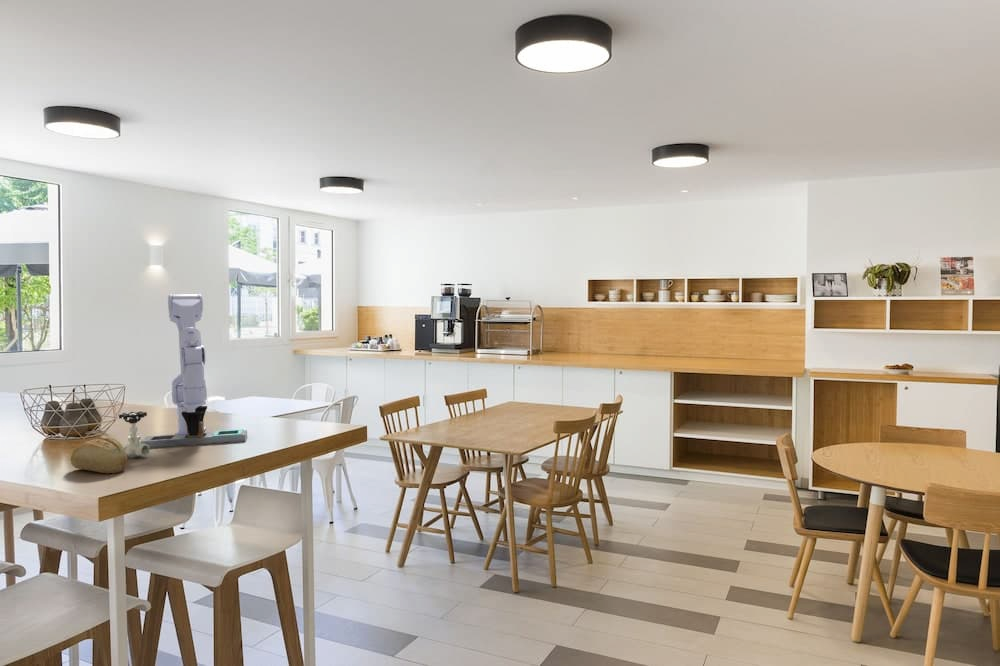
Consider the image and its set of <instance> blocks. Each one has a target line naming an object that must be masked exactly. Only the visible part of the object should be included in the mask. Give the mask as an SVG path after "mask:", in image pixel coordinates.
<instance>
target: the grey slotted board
mask: <svg viewBox="0 0 1000 666" xmlns="http://www.w3.org/2000/svg"><path fill="white" fill-rule="evenodd" d="M247 438H248V429H244V428H243V429H227V430H226V429H225V430H215V431H213V432H212V431H211V432H204V437H192V438H187V434H177V435H175V434H165V435H151V436H150V435H148V436H144V437H143V439H142V440H141V441H140V443H145V444H147V445H149V448H150V449H157V448H156V447H158V448H169V447H170V446H172V447H183V445H187V446H198V445H212V443H216V444H224V443H223V442H231V443H241V442H240V441H245V442H246V441H247ZM170 448H171V447H170Z"/></svg>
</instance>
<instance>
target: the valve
mask: <svg viewBox="0 0 1000 666" xmlns="http://www.w3.org/2000/svg"><path fill="white" fill-rule="evenodd" d="M147 416H148V413H147V411H142V410H141V411H137V412H135V411H129V412H127V413H126V412H122V413H121V414H119V415H118V419H123V420H124V422H126V423H129V424H130V426H129V433H130V435H129V436H127V442H123V443H121V444H122V446H123V447H124V449H125V452H126V455H127V458H131V459H137V458H147V456H148V455H149V454H150V449H151V448H149V445H147V444H145V443H141V442H140V440H141V435H139V434H138V433H137V432H138V426H137V425H136V424H138V422H140V421H141V419H142V418H145V417H147Z"/></svg>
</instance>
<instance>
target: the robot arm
mask: <svg viewBox="0 0 1000 666" xmlns="http://www.w3.org/2000/svg"><path fill="white" fill-rule="evenodd" d="M203 302H204V301H203V295H202V294H201V293H197V294H196V293H195V294H194V293H193V294H191V293H190V294H189V293H187V294H171V293H170V294H168V296H167V306H168V318H169V321H170V322H172V323H174V324H175V325H176V327H177V330H178V345H179V347H178V348H179V361H180V365H179V366H180V374H179V375H177V376H176V377H175V378H173V379H172V381H171V396H172V397H171V399H172V403H173V405H176V408H177V431H176V432H174V433H175V434H174V435H177V434H187V428H188V432H189V435H190V436H197V435H198V432H199V423H200V421H204V417H205V414H206V411H207V409H208V406H207V405H206V404H207V403H206V401H207V397H208V396H207V395H208V394H207V393H208V391H207V386H206V379H205V369H204V368H205V367H204V366H205V364H206V351H205V346H204V345H203V343H202V338H201V332H200V330H199V329H198V328H197V327H196V323H197V322H199V321H201V318H202V315H203V310H204V307H203V306H204V303H203ZM206 429H207V426H204V431H205V430H206Z"/></svg>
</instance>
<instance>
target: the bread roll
mask: <svg viewBox="0 0 1000 666" xmlns="http://www.w3.org/2000/svg"><path fill="white" fill-rule="evenodd" d="M122 444H123V443H121V442H120V441H119V440H116V439H114V438H109V437H107V438H106V437H105V438H104V437H98V438H94V439H90V440H88V441H85V442H83V443H81V444H79V445H78V446H76V448H74V450H73V451H72V454H71V456H70V463H71V465H72V467H74V468H75V469H78V470H85V471H89V472H97V473H100V474H109V473H112V474H118V473H120V472H121V471H123V470H124V469H125V468H126V465H127V463H128V457H127V455H126V452H125V449H124V447H123V446H122ZM117 472H118V473H117Z"/></svg>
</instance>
